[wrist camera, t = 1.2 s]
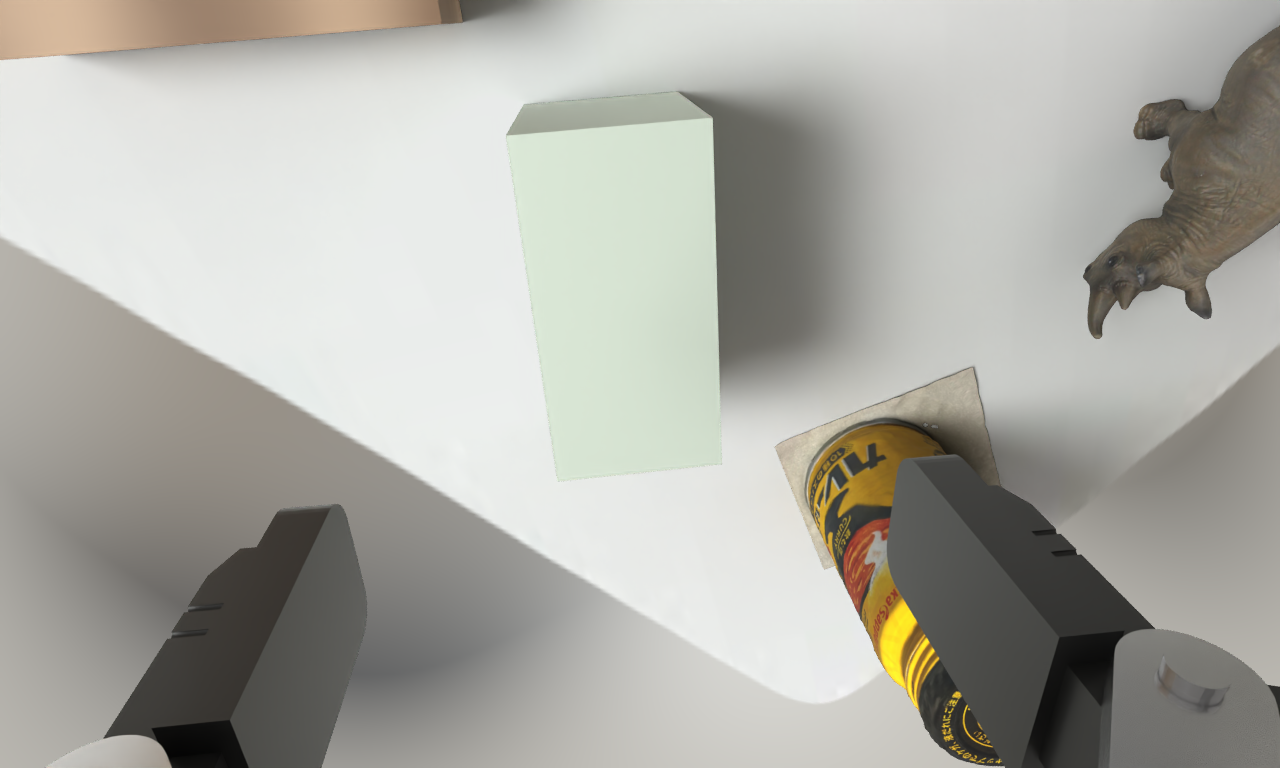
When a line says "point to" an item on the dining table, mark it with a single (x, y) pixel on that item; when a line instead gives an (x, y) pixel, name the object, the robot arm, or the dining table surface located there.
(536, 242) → the mint green tall box
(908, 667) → the condiment
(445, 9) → the ledge
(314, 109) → the dining table surface
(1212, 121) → the rhino figurine
